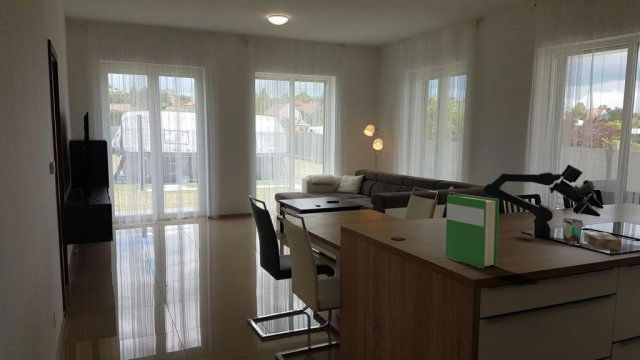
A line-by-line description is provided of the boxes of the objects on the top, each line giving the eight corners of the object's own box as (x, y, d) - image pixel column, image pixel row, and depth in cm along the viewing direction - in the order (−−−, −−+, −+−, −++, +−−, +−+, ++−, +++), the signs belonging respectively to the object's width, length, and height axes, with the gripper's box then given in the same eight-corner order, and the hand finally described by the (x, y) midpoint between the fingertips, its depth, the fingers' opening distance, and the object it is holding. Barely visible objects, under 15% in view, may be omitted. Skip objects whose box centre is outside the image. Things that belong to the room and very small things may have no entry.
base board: (596, 248, 186) (596, 238, 185) (583, 241, 200) (584, 231, 200) (620, 249, 184) (621, 239, 183) (606, 241, 198) (606, 232, 198)
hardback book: (497, 266, 160) (499, 199, 158) (482, 269, 156) (484, 200, 154) (460, 255, 175) (461, 194, 173) (445, 257, 172) (447, 195, 170)
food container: (587, 246, 189) (588, 223, 189) (571, 246, 191) (572, 222, 190) (576, 240, 202) (577, 218, 201) (561, 239, 203) (562, 217, 202)
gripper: (575, 184, 191) (611, 206, 185) (583, 170, 204) (617, 191, 199) (559, 203, 197) (593, 225, 192) (568, 189, 211) (600, 209, 205)
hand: (601, 211), depth 197 cm, fingers open, 9 cm apart
